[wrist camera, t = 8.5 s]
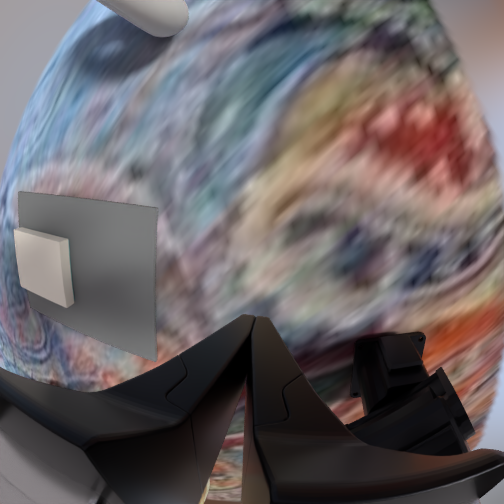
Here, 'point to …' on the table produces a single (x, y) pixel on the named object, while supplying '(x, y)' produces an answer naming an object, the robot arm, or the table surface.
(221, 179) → the table surface
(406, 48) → the table surface
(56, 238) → the tile
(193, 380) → the robot arm
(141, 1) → the donut
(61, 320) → the mat
